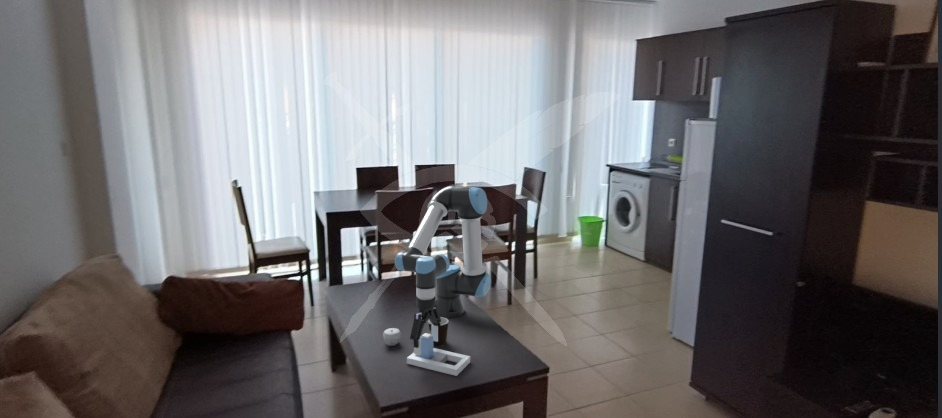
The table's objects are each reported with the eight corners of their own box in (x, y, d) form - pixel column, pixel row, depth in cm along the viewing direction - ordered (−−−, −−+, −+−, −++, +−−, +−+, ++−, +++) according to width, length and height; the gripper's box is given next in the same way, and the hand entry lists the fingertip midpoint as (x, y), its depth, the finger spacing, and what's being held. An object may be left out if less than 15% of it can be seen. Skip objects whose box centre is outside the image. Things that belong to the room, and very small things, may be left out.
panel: (422, 351, 216) (422, 345, 215) (470, 362, 207) (470, 356, 206) (407, 363, 205) (406, 357, 205) (456, 375, 196) (456, 369, 195)
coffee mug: (445, 348, 218) (445, 326, 216) (426, 346, 220) (425, 324, 218) (452, 336, 229) (452, 315, 228) (433, 334, 231) (433, 313, 229)
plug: (424, 356, 211) (424, 332, 209) (433, 358, 209) (433, 333, 207) (419, 361, 207) (419, 335, 205) (428, 363, 206) (428, 337, 203)
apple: (394, 338, 228) (394, 324, 226) (405, 344, 222) (405, 329, 221) (379, 344, 222) (378, 329, 221) (390, 350, 217) (389, 335, 215)
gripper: (433, 285, 216) (433, 333, 220) (400, 305, 193) (401, 358, 197) (449, 288, 213) (449, 337, 216) (417, 309, 190) (418, 362, 194)
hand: (426, 347), depth 207 cm, fingers open, 13 cm apart
